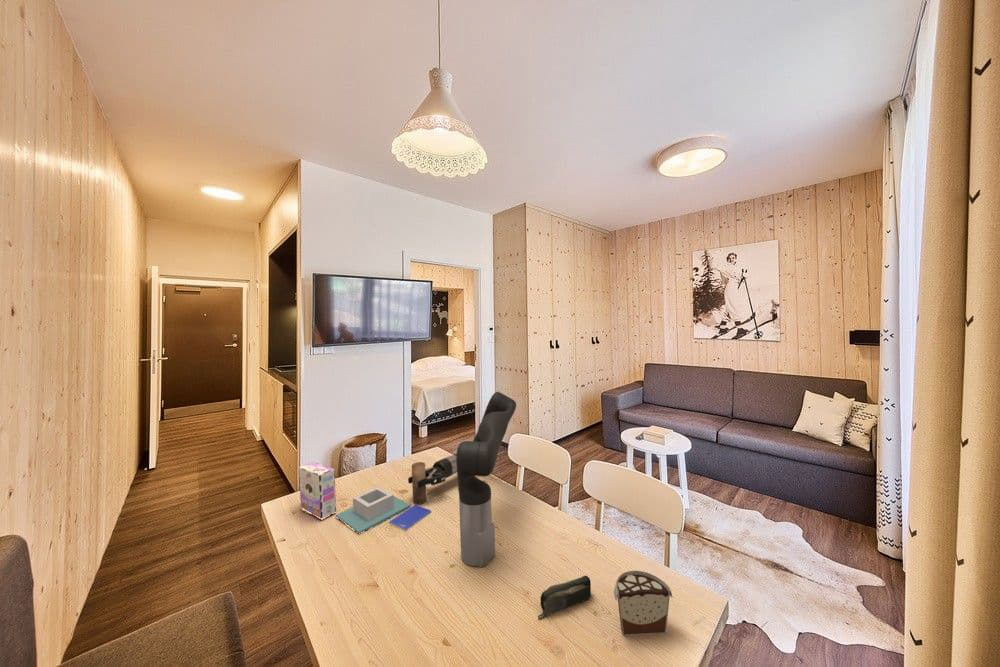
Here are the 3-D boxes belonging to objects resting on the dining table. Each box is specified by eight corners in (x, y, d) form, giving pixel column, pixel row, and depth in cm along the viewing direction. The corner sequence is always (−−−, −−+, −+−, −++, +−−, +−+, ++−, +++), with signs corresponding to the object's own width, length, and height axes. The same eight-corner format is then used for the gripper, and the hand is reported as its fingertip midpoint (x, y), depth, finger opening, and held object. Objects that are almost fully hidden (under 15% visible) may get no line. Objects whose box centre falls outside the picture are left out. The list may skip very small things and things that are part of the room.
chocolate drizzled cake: (658, 609, 79) (658, 567, 79) (672, 633, 73) (672, 588, 73) (606, 611, 79) (605, 569, 78) (616, 636, 72) (615, 591, 72)
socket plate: (410, 507, 125) (410, 491, 125) (359, 534, 109) (358, 516, 109) (386, 494, 135) (385, 479, 135) (335, 517, 119) (334, 501, 119)
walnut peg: (429, 500, 130) (427, 464, 129) (418, 505, 126) (417, 468, 125) (420, 496, 133) (419, 461, 132) (410, 501, 129) (408, 465, 129)
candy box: (337, 513, 122) (335, 468, 122) (321, 521, 117) (319, 475, 117) (315, 503, 130) (314, 460, 129) (300, 510, 125) (298, 466, 124)
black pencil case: (585, 571, 85) (533, 591, 79) (593, 580, 82) (540, 601, 76) (585, 591, 85) (533, 612, 79) (593, 600, 83) (540, 622, 76)
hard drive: (405, 528, 111) (431, 510, 121) (388, 521, 115) (414, 504, 125) (405, 533, 111) (431, 514, 121) (388, 526, 115) (414, 508, 125)
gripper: (435, 454, 145) (401, 468, 131) (459, 462, 136) (425, 478, 122) (436, 471, 145) (402, 487, 132) (459, 480, 136) (425, 498, 123)
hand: (413, 482), depth 127 cm, fingers closed on walnut peg, 5 cm apart
